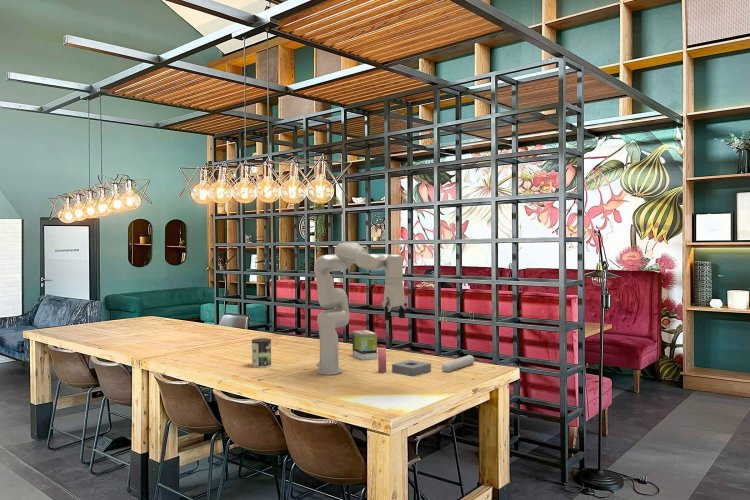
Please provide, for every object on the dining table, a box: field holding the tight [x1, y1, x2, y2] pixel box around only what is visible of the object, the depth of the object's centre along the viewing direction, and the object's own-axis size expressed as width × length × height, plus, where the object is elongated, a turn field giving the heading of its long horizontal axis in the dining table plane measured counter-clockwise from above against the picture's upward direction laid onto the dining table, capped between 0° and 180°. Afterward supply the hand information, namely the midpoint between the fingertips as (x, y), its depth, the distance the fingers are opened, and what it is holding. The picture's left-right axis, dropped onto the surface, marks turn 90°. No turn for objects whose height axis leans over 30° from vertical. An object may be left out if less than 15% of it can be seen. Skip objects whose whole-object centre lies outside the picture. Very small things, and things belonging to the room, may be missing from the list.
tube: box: [441, 354, 475, 373], centre depth 300 cm, size 5×5×25 cm
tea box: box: [351, 329, 378, 361], centre depth 331 cm, size 15×10×15 cm
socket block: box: [391, 359, 432, 377], centre depth 293 cm, size 14×14×4 cm
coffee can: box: [251, 337, 272, 369], centre depth 311 cm, size 10×10×14 cm
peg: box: [377, 347, 387, 374], centre depth 293 cm, size 4×4×12 cm
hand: (395, 319), depth 263 cm, fingers open, 9 cm apart
